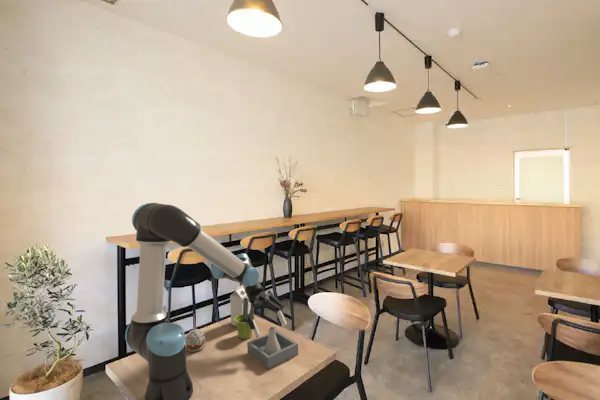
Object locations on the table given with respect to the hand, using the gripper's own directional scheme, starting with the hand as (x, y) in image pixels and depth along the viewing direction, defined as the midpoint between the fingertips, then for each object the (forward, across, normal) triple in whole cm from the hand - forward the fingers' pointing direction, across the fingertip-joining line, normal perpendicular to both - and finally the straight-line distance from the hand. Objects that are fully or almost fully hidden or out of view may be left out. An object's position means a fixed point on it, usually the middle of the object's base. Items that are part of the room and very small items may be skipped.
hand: (272, 330), depth 134 cm
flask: (+7, +1, -5) cm, 9 cm away
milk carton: (-15, -3, -29) cm, 33 cm away
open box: (+7, +1, -6) cm, 9 cm away
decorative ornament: (-10, +23, -24) cm, 35 cm away
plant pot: (-6, +2, -20) cm, 21 cm away
